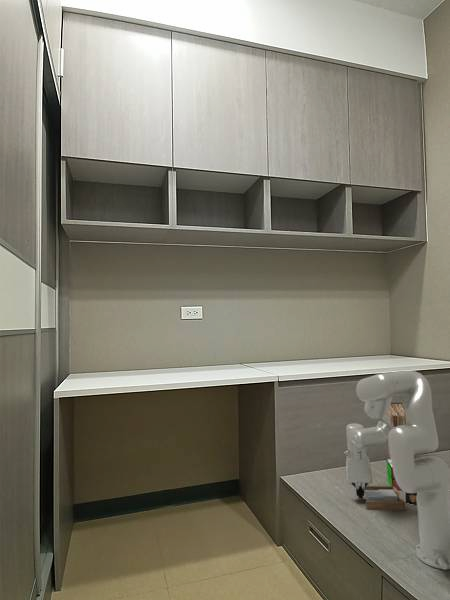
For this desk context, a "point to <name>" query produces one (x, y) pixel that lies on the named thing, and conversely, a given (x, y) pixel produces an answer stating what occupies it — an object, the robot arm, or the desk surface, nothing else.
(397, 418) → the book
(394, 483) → the puzzle cube
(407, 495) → the ammunition clip
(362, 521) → the desk surface
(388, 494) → the tile
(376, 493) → the tile trail
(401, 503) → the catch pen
